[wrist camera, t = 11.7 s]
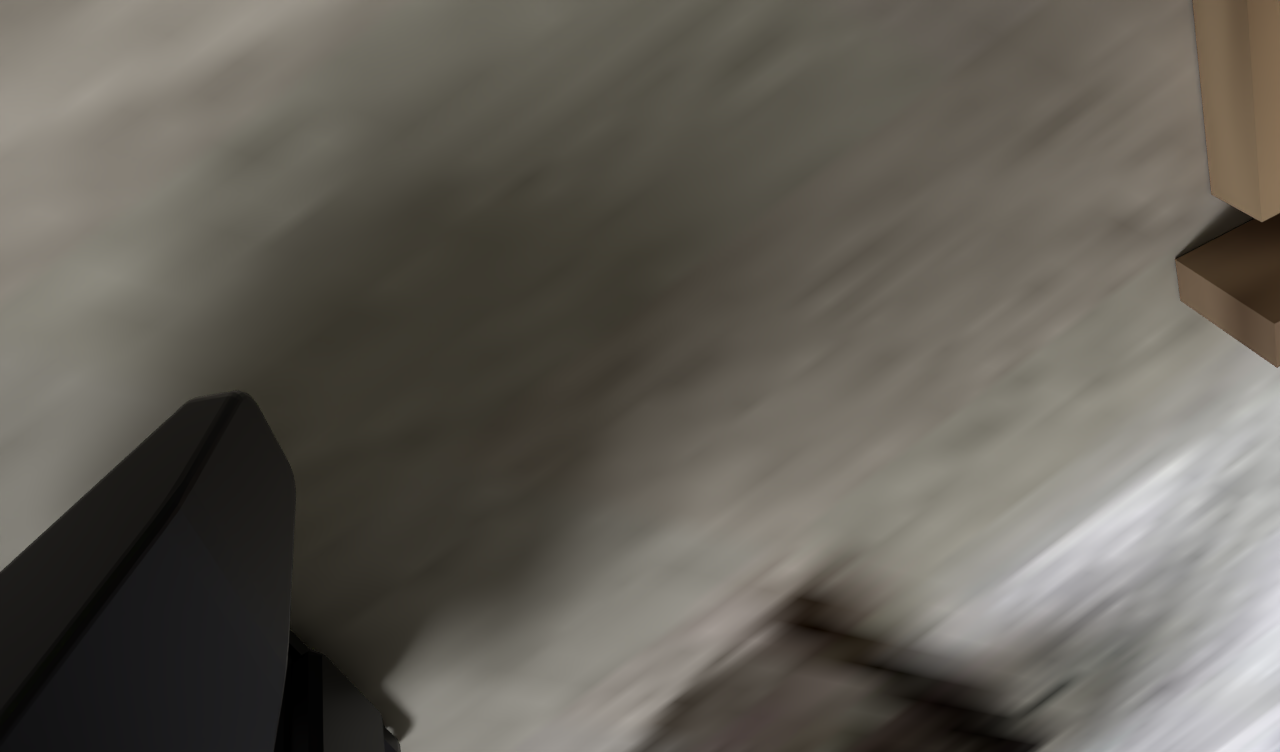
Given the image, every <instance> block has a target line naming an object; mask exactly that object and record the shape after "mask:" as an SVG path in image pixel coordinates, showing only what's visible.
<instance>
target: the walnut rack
mask: <svg viewBox="0 0 1280 752" xmlns="http://www.w3.org/2000/svg"><path fill="white" fill-rule="evenodd" d="M1175 261H1176V269H1177V277H1178V285H1179V293H1180V301H1182V302H1183V303H1185V304H1186V305H1188V306H1189V307H1190V308H1192V309H1193V310H1195V311H1196V312H1198V313H1199V314H1200V315H1202V316H1203V317H1205V318H1206V319H1208V320H1209V321H1211V322H1212V323H1213V324H1215V325H1216V326H1218V327H1219V328H1221V329H1222V330H1223V331H1225V332H1226V333H1228V334H1229V335H1231V336H1232V337H1234V338H1235V339H1236V340H1238V341H1239V342H1241V343H1242V344H1244V345H1245V346H1247V347H1248V348H1249V349H1251V350H1252V351H1254V352H1255V353H1257V354H1258V355H1259V356H1261V357H1262V358H1264V359H1265V360H1267V361H1268V362H1270V363H1271V364H1272V365H1274V366H1275V367H1277V368H1278V367H1279V366H1280V213H1279V214H1277V215H1275V216H1273V217H1271V218H1269V219H1267V220H1265V221H1263V222H1260V221H1259V220H1257V219H1253V220H1251V221H1249V222H1247V223H1245V224H1243V225H1241V226H1239V227H1237V228H1235V229H1233V230H1231V231H1230V232H1228V233H1226V234H1224V235H1222V236H1220V237H1218V238H1216V239H1214V240H1212V241H1210V242H1208V243H1206V244H1204V245H1202V246H1200V247H1198V248H1197V249H1195V250H1193V251H1191V252H1189V253H1187V254H1185V255H1183V256H1181V257H1179V258H1177V259H1175Z"/></svg>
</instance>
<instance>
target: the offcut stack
mask: <svg viewBox="0 0 1280 752" xmlns="http://www.w3.org/2000/svg"><path fill="white" fill-rule="evenodd" d="M1192 1H1193V12H1194V22H1195V32H1196V42H1197V53H1198V63H1199V73H1200V83H1201V94H1202V104H1203V114H1204V124H1205V135H1206V145H1207V155H1208V165H1209V175H1210V186H1211V194H1212V195H1213V196H1215V197H1217V198H1219V199H1221V200H1222V201H1224V202H1226V203H1228V204H1230V205H1231V206H1233V207H1235V208H1237V209H1239V210H1240V211H1242V212H1244V213H1246V214H1248V215H1249V216H1251V217H1253V218H1255V219H1257V220H1259V221H1260V222H1263V221H1265V220H1267V219H1269V218H1271V217H1273V216H1275V215H1277V214H1279V213H1280V0H1192Z"/></svg>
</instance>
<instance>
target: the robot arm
mask: <svg viewBox="0 0 1280 752" xmlns="http://www.w3.org/2000/svg"><path fill="white" fill-rule="evenodd" d="M295 504H296V488H295V481H294V476H293V472H292V469H291V467H290V464H289V462H288V460H287V458H286V456H285V455H284V453H283V451H282V449H281V447H280V445H279V443H278V442H277V440H276V438H275V436H274V434H273V432H272V431H271V429H270V427H269V425H268V423H267V421H266V419H265V418H264V416H263V414H262V412H261V410H260V408H259V406H258V405H257V403H256V402H255V401H254V399H253V398H252V397H251V396H250V395H249V394H247V393H245V392H242V391H230V392H224V393H219V394H213V395H207V396H202V397H197V398H194V399H191V400H189V401H188V402H186V403H185V404H184V405H183V406H182V407H181V408H179V409H178V410H177V411H176V412H175V413H174V414H173V415H172V416H171V417H170V418H169V419H167V420H166V421H165V422H164V423H163V424H162V425H161V426H160V427H159V428H158V429H156V430H155V431H154V432H153V433H152V434H151V435H150V436H149V437H148V438H147V439H145V440H144V441H143V442H142V443H141V444H140V445H139V446H138V447H137V448H136V449H135V450H133V451H132V452H131V453H130V454H129V455H128V456H127V457H126V458H125V459H124V460H122V461H121V462H120V463H119V464H118V465H117V466H116V467H115V468H114V469H113V470H112V471H110V472H109V473H108V474H107V475H106V476H105V477H104V478H103V479H102V480H101V481H99V482H98V483H97V484H96V485H95V486H94V487H93V488H92V489H91V490H90V491H89V492H87V493H86V494H85V495H84V496H83V497H82V498H81V499H80V500H79V501H78V502H76V503H75V504H74V505H73V506H72V507H71V508H70V509H69V510H68V511H67V512H65V513H64V514H63V515H62V516H61V517H60V518H59V519H58V520H57V521H56V522H55V523H53V524H52V525H51V526H50V527H49V528H48V529H47V530H46V531H45V532H44V533H42V534H41V535H40V536H39V537H38V538H37V539H36V540H35V541H34V542H33V543H32V544H30V545H29V546H28V547H27V548H26V549H25V550H24V551H23V552H22V553H21V554H19V555H18V556H17V557H16V558H15V559H14V560H13V561H12V562H11V563H10V564H9V565H7V566H6V567H5V568H4V569H3V570H2V571H1V572H0V752H401V750H400V744H399V742H398V740H397V739H396V738H395V737H394V736H393V735H392V734H391V733H390V732H389V731H388V730H387V729H386V728H385V727H384V726H383V721H382V715H381V713H380V712H379V711H378V710H377V709H376V708H375V707H374V706H373V705H372V704H371V703H370V702H369V701H368V700H367V699H366V698H365V697H364V695H363V694H362V693H361V692H360V691H359V690H358V689H357V688H356V687H355V686H354V685H353V684H352V683H351V682H350V681H349V680H348V679H347V678H346V677H345V676H344V675H343V674H342V673H341V672H340V671H339V670H338V669H337V668H336V666H335V665H334V664H333V663H332V662H331V661H330V660H329V659H328V658H327V657H326V656H325V655H324V654H321V653H319V652H316V651H314V650H309V649H308V648H307V647H306V646H305V645H304V644H303V642H302V641H301V640H300V639H299V638H298V637H297V636H296V635H295V634H294V633H293V632H292V631H291V630H290V610H291V589H292V568H293V547H294V526H295Z"/></svg>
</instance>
